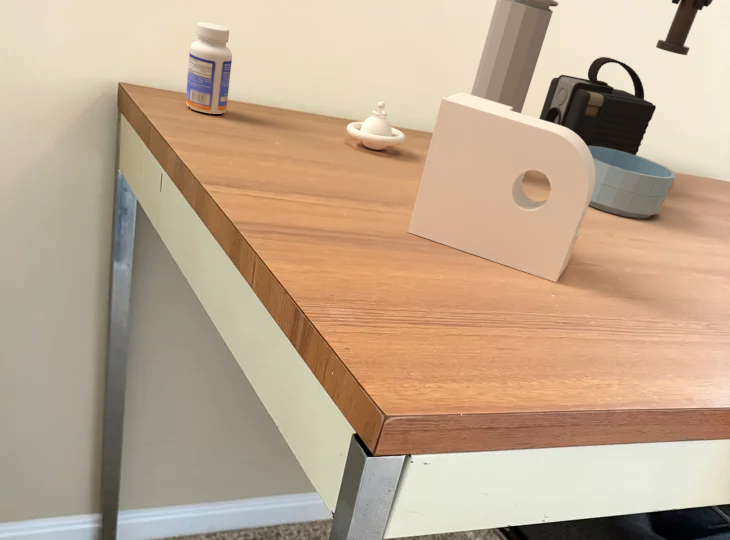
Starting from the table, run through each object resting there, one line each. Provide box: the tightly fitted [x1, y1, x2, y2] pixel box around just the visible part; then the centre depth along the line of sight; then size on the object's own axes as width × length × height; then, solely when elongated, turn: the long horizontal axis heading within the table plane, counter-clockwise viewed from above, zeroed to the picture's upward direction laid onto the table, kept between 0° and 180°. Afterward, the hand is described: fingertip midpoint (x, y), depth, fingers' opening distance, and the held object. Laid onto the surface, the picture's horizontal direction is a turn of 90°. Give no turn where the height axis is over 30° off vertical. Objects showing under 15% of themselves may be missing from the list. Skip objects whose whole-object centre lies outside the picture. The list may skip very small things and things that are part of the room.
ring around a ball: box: [346, 101, 406, 151], centre depth 110 cm, size 8×6×8 cm
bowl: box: [588, 145, 677, 219], centre depth 112 cm, size 13×13×6 cm
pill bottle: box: [185, 21, 233, 114], centre depth 106 cm, size 5×5×10 cm
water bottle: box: [470, 0, 559, 114], centre depth 108 cm, size 9×8×25 cm
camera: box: [538, 56, 657, 155], centre depth 122 cm, size 11×14×15 cm
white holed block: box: [407, 91, 596, 283], centre depth 84 cm, size 16×10×13 cm, turn 66°
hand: (687, 0), depth 100 cm, fingers closed on stirring stick, 2 cm apart
